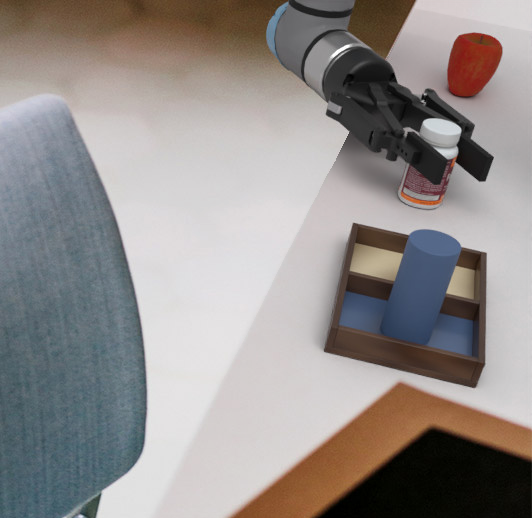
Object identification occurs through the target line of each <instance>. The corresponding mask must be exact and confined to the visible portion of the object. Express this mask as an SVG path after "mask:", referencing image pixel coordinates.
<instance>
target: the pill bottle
mask: <svg viewBox="0 0 532 518" xmlns="http://www.w3.org/2000/svg"><path fill="white" fill-rule="evenodd" d="M418 135H419V136H420V137H421V138H422V139H424V140H425V141H426V142H427V143H428V144H430V145H431V146H432V147H433V148H434V149H436V150H437V151H438V152H439V153H441V154H442V155H443V156H444V157H445V158H447V159H448V163H447V166H446V169H445V172H444V175H443V178H442V181H441V184H440V185H433V184H432V183H431V182H430V181H429V180H428V179H426V178H425V177H424V176H423V175H422V174H421V173H419V172H418V171H417V170H416V169H415V168H414V167H412V166H411V165H410V164H409V163H407V162H405V167H404V170H403V173H402V177H401V181H400V184H399V187H398V191H397V196H398V198H399V199H400V201H401V202H402V203H404V204H405V205H408V206H410V207H413V208H417V209H423V210H433V209H434V210H435V209H436V208H439V207H441V205H442V203H443V200H444V197H445V195H446V192H447V189H448V186H449V183H450V179H451V176H452V173H453V170H454V167H455V164H456V162H455V161H456V158H457V155H458V147H457V146H456V145H457V143H458V141H459V138H460V135H461V128H460V127H459V126H458V125H456V124H455V123H453V122H450V121H447V120H443V119H437V118H431V119H426V120H424V121H423V123H422V126H421V129H420V133H418Z"/></svg>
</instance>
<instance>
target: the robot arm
mask: <svg viewBox="0 0 532 518" xmlns="http://www.w3.org/2000/svg"><path fill="white" fill-rule="evenodd" d="M355 2H356V0H288V1H287V2H284V3H282V4H281V5H280V6H279V7H278V8H276V10H275V11H274V13H273V15H272V16H271V18H270V19H269V21H268V24H267V27H266V32H265V33H266V34H265V36H266V39H265V40H266V44H267V47H268V49H269V50H270V52H271V54H272V55H273V56H274V57H275V58H276V59H277V60H278V63H280V65H281V66H282V67H283V68H284V69H286V70H287V71H289V72H291V73H292V74H293V75H295V76H296V77H297V78H299V80H301V81H302V82H303V83H304V84H305V85H306V87H309V88H310V89H311V90H312V91H314V92H315V93H316V94H317V96H319V97H320V98H321V99H322V100H323V101H324V102H326V104H327V107H326V111H325V116H326V117H328V118H330V119H332V120H333V121H336V122H337V123H339V124H340V125H341V126H342V127H344V128H345V129H346V130H347V131H348V132H349V133H350V134H351V135H352V136H353V137H355V138H356V139H357V140H358V141H359V142H360V143H361V144H363V146H364V147H365V148H367V149H368V150H369V151H370V152H372V153H375V154H376V153H377V154H378V153H381V152H382V150H386V156H385V160H387V161H388V162H396V161H397V160H398V157H399V158H401V159H402V160H403V161H404V162H405V163H409V164H410V165H411V166H412V167H414V168H415V169H416V170H417V171H418V172H419V173H421V174H422V175H423V176H424V177H425V178H426V179H428V180H429V181H430V182H431V183H432V184H433V185H440V184H441V181H442V178H443V175H444V172H445V169H446V166H447V163H448V159H447V158H445V157H444V156H443V155H442V154H441V153H439V152H438V151H437V150H436V149H434V148H433V147H432V146H431V145H430V144H428V143H427V142H426V141H425V140H424V139H422V138H421V137H420V136H419V133H420V129H421V126H422V123H423V121H424V120H426V119H431V118H437V119H443V120H447V121H450V122H453V123H455V124H456V125H458V126H459V127H460V128H461V135H460V138H459V141H458V143H457V145H456V146H457V147H458V155H457V158H456V161H455V164H457V165H458V166H459V167H460V168H462V169H463V170H464V171H466V172H467V173H468V174H469V175H470V176H471V177H473V179H475V180H476V181H478V182H479V183H484V182H486V181H487V179H488V176H489V172H490V170H491V167H492V164H493V161H494V159H495V157H494V155H492V154H491V153H489V151H488V150H486V149H485V148H483V147H482V146H481V145H479V144H478V143H477V142H476V141H474V140H473V139H472V136H473V133H474V130H475V128H476V124H475V123H474V122H472V121H471V120H470V119H468V118H467V117H466V116H464V115H463V114H462V113H461V112H459V111H458V110H457V109H455V108H454V107H452V106H451V105H450V104H449V103H447V102H446V101H445V100H443V99H442V98H440V96H439V95H438V93H437V91H436V90H435V89H433V88H430V87H429V88H425V89H424V91H423V92H422V94H417V93H413V92H412V91H411V89H409V87H406V86H404V85H402V84H400V83H399V82H398V79H397V76H396V73H395V70H394V68H393V66H392V64H391V63H390V62H389V61H388V60H387V59H386V58H384V57H383V56H381V55H380V54H378V53H377V52H376V51H374V49H373V48H372V47H370V46H368V44H366V43H364V42H363V41H362V40H360V39H359V38H358V37H356V36H355V35H354V34H353V33H351V32H350V31H349V30H348V28H349V24H350V20H351V16H352V13H353V10H354V6H355ZM407 128H409V129H411V130H412V131H407V133H406V130H405V129H407ZM417 133H418V134H417ZM405 134H406V136H405Z"/></svg>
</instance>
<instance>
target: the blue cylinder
mask: <svg viewBox="0 0 532 518" xmlns="http://www.w3.org/2000/svg"><path fill="white" fill-rule="evenodd" d="M408 235H409V237H408V241H407V244H406V247H405V250H404V253H403V256H402V259H401V263H400V266H399V269H398V272H397V275H396V278H395V281H394V285H393V288H392V291H391V294H390V297H389V300H388V303H387V307H386V310H385V313H384V316H383V319H382V322H381V331H382V332H383V334H384V335H385V336H388V337H392V338H396V339H401V340H405V341H409V342H413V343H417V344H422V345H423V344H426V343H427V342H428V341H429V340H430V337H431V335H432V332H433V329H434V326H435V323H436V320H437V318H438V315H439V312H440V309H441V306H442V303H443V301H444V298H445V295H446V292H447V289H448V286H449V283H450V281H451V278H452V275H453V272H454V269H455V266H456V264H457V261H458V258H459V255H460V252H461V247H462V244H461V243H460V242H459V241H458V240H457V238H455V237H454V236H452V235H450V234H448V233H445V232H443V231H441V230H440V231H439V230H434V229H428V228H420V229H416V230H413V231H412V232H410V233H409V234H408Z"/></svg>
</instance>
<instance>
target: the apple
mask: <svg viewBox="0 0 532 518" xmlns="http://www.w3.org/2000/svg"><path fill="white" fill-rule="evenodd" d="M503 53H504V52H503V46H502V43H501V42H500V41H499V39H497V38H496V37H495V36H492V35H490V34H486V33H482V32H467V33H462V34H459V35H457V37H456V38H455V39H454V41H453V44H452V47H451V50H450V53H449V58H448V63H447V69H446V78H447V87H448V91H449V92H450V93H451V94H452V95H454V96H458V97H473V96H475V95H477V94H479V93H480V92H481V91H483V89H484V88H485V87H486V86H487V85H488V84H489V82H490V81H491V79H492V78H493V76H494V75H495V73H496V72H497V70H498V68H499V65H500V63H501V60H502V57H503Z"/></svg>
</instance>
